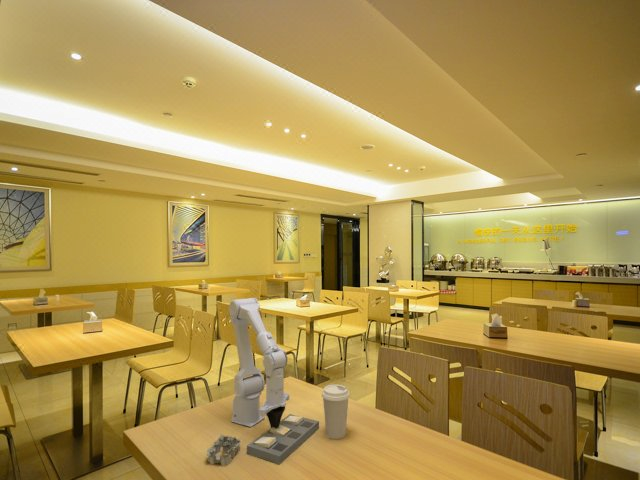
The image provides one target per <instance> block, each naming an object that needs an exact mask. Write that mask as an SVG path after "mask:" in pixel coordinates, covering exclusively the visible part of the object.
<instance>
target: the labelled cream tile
mask: <svg viewBox="0 0 640 480" xmlns="http://www.w3.org/2000/svg"><path fill="white" fill-rule="evenodd" d="M298 416H299V415H296V416H289V417H288V418H287V419H285V420H284V423H288V424H291V425H298V424H299V423H300V422H302V421H303V416H300V417H298Z"/></svg>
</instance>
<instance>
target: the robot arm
mask: <svg viewBox="0 0 640 480" xmlns="http://www.w3.org/2000/svg"><path fill="white" fill-rule="evenodd" d="M260 308H261V307H260V304H259V300H258V299H257V298H256V297H249V298H238V299H236V298H233V299H231V301H230V302H229V305H228V314H229V320H230V323H231V324H233V331H234V337H235V343H236V351H237V356H238V363H239V371H238V372H236V374H235V376H234V377H233V378H234V387H233V389H234V393H235V396H234V397H233V400H232V419H230V422H231V423H234V424H239V425H241V426H245V427H249V428H252V427H253V426H255V425H257V424H258V423H259V422H261V421H262V420H264V419H265V417H266V416H267V420H268V422H269V426H270V428H272V427H274V428H276V429H277V428H278V427H279V425H280V421H281V420H282V416H283V414H284V412H285V411H286V405H287V402H286V401H289V400H290V393H286V392H285V391H284V388H285V387H284V384H285V383H284V381H285V376H284V373H285V371H284V369H285V368H284V367H286V366H287V365H288V356H287V355H288V354H287V353H286V351H285V350H284V349H283V348H281V347H279V345H278V344H277V342H276V340H275V338H274V336H273V334H272V332H270V331H267V330H266V327H265V325H264V322H263V319H262V317H261V314H260ZM248 325H250V326H251V328H252V330H253V331H254V333H255V334H256V336H257V337H256V340H255V341H256V344H257V346H258V348H259V349H260V352H261V354H262V356H263V359H262V365H263V367H264V374H265V376H266V381H265V379H264V377H263V374H262V371H261V369H259V368H258V367H256V366H255V362H254V356H253V349H252V344H251V338H250V331H249V327H248ZM248 376H249V377H248ZM265 383H266V385H265ZM265 387H266V388H265ZM264 389H266V391H265V392H266V393H265V394H266V400H265V402H264V403H263V404H262V406H261V407H260V403H261V402H260V396H261V395H262V393H263V391H264ZM284 392H285V393H284Z"/></svg>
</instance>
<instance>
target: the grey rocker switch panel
mask: <svg viewBox="0 0 640 480" xmlns="http://www.w3.org/2000/svg"><path fill="white" fill-rule="evenodd" d="M289 416H298V417H301V416H299V415H295V414H291V413H290V414H288V415H286V417H284V418H282V419H281V420H280V425H282V426H284V427H287V428H289V429H290V432H289V433H288V434H287V435H285V436H284V437H283V436H279V435H276V434H273V433H271V432H270V429H271V427H270V428H269V429H268V430H266V431H265V432H264V433H262V434H261V435H259V436H258V437H257V438H256V439H254V440H253V441H251V442H250V443H248V444H247V445H246V454H247V455H249V456H252V457H253V456H254V457H257V458H259V459H262V460H264V461H265V460H266V461H268V462H271V463H274V464H277V465H280V464H282V463H283V462H284V461H285V460H286V459H287V458H288V457H289V456H290V455H292V453H295V451H296V450H297V449H298V448H299V447H300V446H301V445H302V444H304V442H306V441H307V440H308V439H309V438H310V437H311V436H312V435H313V434H314V433H315V432H317V431H318V430H319V429H320V421H319V420H315V419H311V418H308V417H303V416H302V417H303V421H302V422H300V423H299V424H298V425H291V424H288V423H284V420H285V419H287V418H288V417H289ZM262 437H276V442H275V443H274V444H273V445H271V446H270V447H269V448H264V447H260V446H257V445H255V442H256V441H257V440H259V439H260V438H262Z"/></svg>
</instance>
